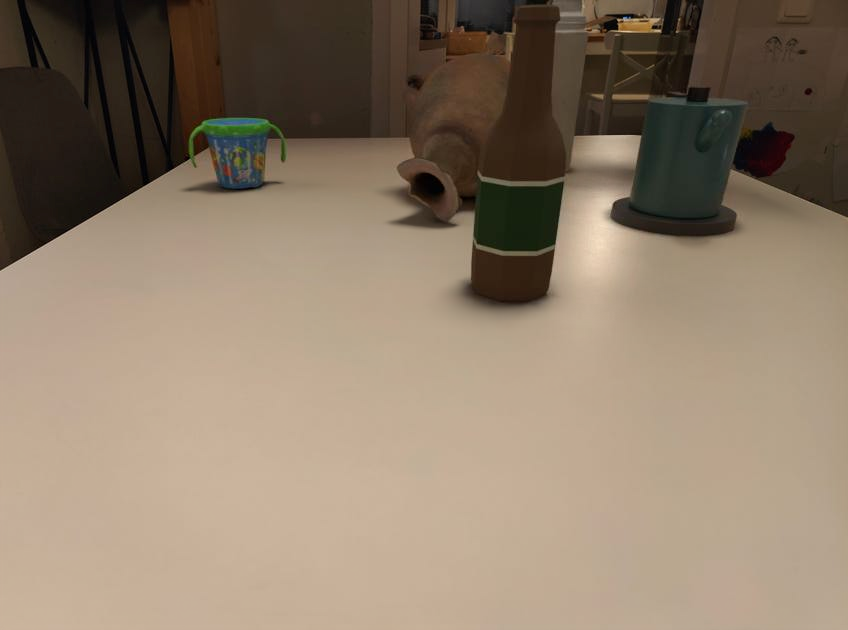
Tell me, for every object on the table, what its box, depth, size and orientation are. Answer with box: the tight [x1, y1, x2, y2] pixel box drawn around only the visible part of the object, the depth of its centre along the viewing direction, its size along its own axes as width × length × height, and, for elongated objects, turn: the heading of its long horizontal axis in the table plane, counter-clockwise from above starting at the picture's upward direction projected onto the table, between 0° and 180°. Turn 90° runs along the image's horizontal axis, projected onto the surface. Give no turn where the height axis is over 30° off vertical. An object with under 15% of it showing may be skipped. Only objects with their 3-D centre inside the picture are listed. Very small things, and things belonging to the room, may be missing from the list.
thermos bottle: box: [551, 0, 589, 173], centre depth 106 cm, size 8×8×28 cm
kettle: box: [629, 85, 749, 218], centre depth 78 cm, size 21×11×15 cm, turn 172°
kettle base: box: [610, 196, 738, 237], centre depth 81 cm, size 15×15×2 cm
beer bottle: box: [470, 4, 566, 302], centre depth 54 cm, size 8×8×24 cm
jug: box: [396, 52, 511, 223], centre depth 88 cm, size 20×20×30 cm
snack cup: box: [188, 117, 287, 190], centre depth 100 cm, size 16×10×10 cm
